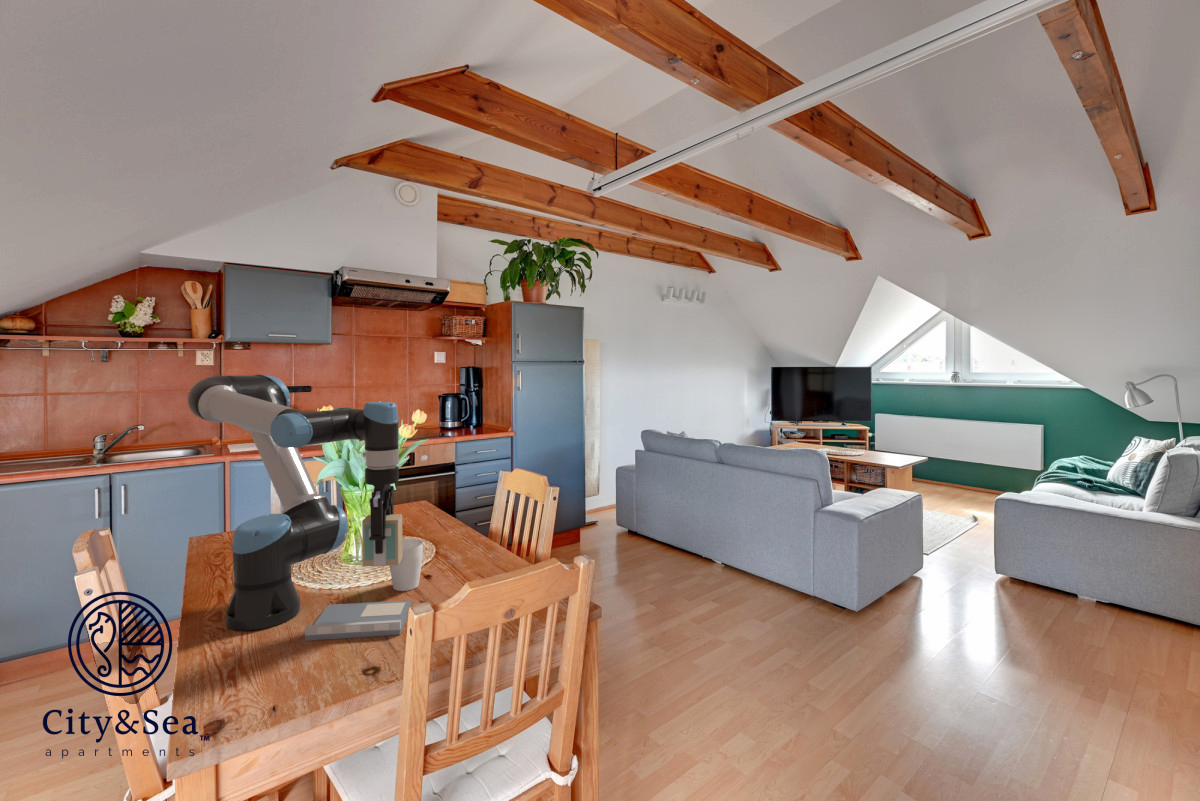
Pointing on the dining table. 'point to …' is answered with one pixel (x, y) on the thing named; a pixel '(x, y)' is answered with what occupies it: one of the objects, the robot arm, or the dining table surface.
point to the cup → (408, 566)
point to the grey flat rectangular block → (359, 620)
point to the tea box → (392, 540)
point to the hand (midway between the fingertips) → (383, 560)
